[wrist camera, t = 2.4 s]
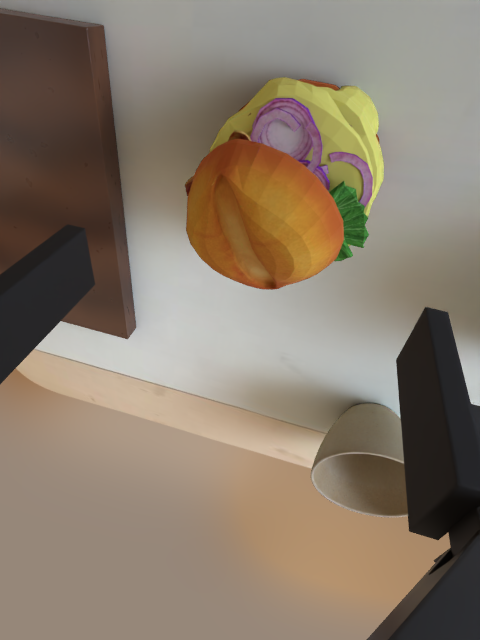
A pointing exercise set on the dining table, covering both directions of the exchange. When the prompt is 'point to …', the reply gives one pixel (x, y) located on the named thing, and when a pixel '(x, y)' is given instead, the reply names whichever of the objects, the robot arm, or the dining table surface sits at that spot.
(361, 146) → the cheeseburger
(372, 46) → the dining table surface
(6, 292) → the robot arm
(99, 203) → the serving board
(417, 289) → the dining table surface
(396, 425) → the bowl
